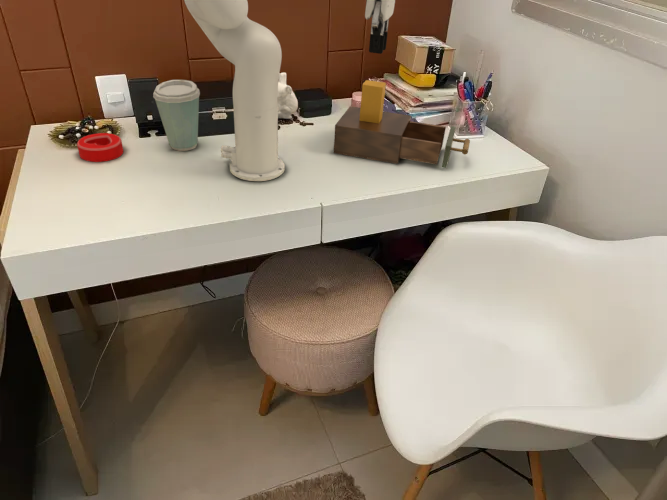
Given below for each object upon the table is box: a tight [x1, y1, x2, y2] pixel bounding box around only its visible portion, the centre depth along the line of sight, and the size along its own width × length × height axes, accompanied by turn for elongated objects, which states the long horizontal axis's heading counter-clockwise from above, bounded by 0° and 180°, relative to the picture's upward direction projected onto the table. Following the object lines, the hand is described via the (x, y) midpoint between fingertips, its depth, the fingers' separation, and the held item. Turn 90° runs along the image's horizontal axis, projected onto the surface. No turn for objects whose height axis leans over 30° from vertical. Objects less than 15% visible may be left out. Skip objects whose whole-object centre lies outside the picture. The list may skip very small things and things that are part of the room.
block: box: [359, 79, 387, 124], centre depth 130 cm, size 5×4×9 cm
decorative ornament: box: [76, 132, 124, 163], centre depth 124 cm, size 10×10×3 cm
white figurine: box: [278, 72, 299, 120], centre depth 147 cm, size 8×7×12 cm
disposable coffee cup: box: [152, 79, 201, 152], centre depth 126 cm, size 11×11×15 cm
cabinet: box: [333, 105, 412, 165], centre depth 134 cm, size 16×14×7 cm
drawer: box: [399, 120, 471, 169], centre depth 131 cm, size 20×13×6 cm
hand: (377, 50), depth 123 cm, fingers closed
